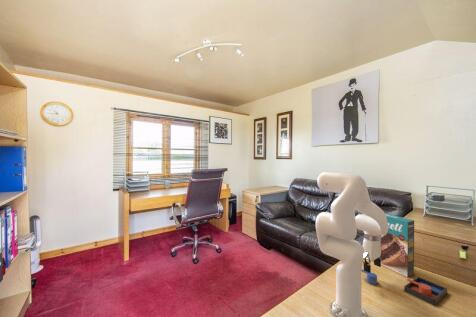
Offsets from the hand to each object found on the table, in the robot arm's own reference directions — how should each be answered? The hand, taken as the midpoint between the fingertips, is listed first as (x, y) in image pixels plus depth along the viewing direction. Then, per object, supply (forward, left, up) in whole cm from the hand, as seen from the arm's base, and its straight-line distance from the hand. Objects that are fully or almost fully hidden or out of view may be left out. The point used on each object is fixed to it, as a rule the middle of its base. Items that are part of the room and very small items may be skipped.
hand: (372, 268), depth 109 cm
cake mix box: (+24, +3, -7) cm, 26 cm away
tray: (+13, -18, -7) cm, 23 cm away
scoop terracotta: (+9, -16, -6) cm, 20 cm away
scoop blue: (-1, +2, -7) cm, 7 cm away
